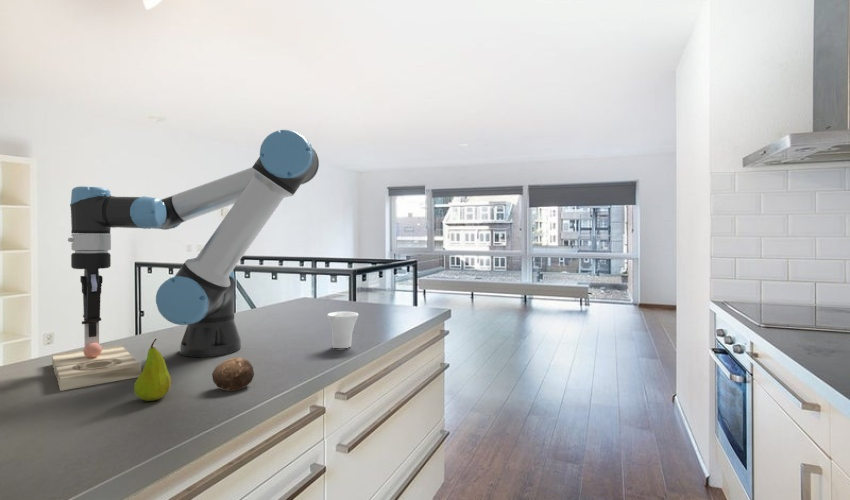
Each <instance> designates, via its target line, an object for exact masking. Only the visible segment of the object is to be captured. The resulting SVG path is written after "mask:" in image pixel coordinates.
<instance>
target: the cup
mask: <svg viewBox="0 0 850 500" xmlns="http://www.w3.org/2000/svg"><path fill="white" fill-rule="evenodd" d="M326 316H327V319H328V321H329V324H330V328H331V334H332V337H331V338H332V342H331V343H332V345H331V347H332V349H334V348H348V347H350V346H351V347H352V339H353V333H354V332H353V331H354V328H355V325H356V322H357V320H358V318H359V313H358V312H356V311H355V312H354V311H334V312H329V313H327V315H326ZM351 347H350V348H351ZM348 349H349V348H348Z"/></svg>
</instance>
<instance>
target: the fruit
mask: <svg viewBox="0 0 850 500" xmlns="http://www.w3.org/2000/svg"><path fill="white" fill-rule="evenodd" d="M156 341H157V338H155V339H154V340H153V341H152V342H151V345H150V348H149V349H148V352H147V356H146V361H145V364H144V366H143V370H141V375H140V376H139V377H137V379H136V380H135V382H134V387H133V388H134V389H133V391H134V395H135V396H136V397H138V398H139V399H141V400H143V401H145V402H147V401H148V402H150V401H152V402H153V401H157V400H160V399H161V398H163V397H164V396H166V395H167V394H168V391H169V390H170V388H171V385H172V378H171V374H170V373H169V370H168V367H167V364H166V360H165V359H164V358H165V357H163V355H162V354H161V352H160V351H159V350H158V349H157V348H156V347H154V344H155V342H156Z"/></svg>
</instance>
